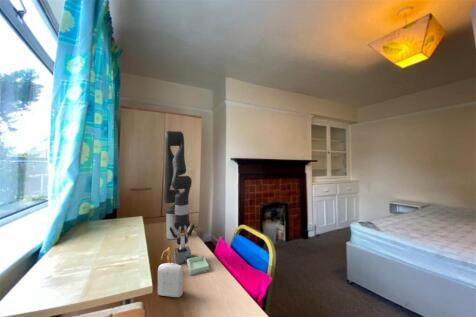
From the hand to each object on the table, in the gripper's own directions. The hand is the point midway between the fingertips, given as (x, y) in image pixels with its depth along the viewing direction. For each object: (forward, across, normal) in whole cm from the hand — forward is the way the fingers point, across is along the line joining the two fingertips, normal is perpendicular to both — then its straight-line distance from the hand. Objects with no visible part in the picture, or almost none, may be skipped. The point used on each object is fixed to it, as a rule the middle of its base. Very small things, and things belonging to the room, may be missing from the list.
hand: (182, 243), depth 108 cm
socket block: (+9, 0, 0) cm, 9 cm away
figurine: (+9, +7, +10) cm, 15 cm away
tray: (+8, -6, +11) cm, 15 cm away
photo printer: (+9, +8, +26) cm, 29 cm away
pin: (+7, 0, 0) cm, 7 cm away
